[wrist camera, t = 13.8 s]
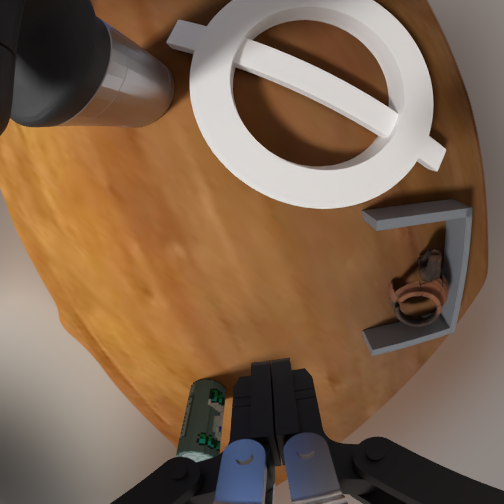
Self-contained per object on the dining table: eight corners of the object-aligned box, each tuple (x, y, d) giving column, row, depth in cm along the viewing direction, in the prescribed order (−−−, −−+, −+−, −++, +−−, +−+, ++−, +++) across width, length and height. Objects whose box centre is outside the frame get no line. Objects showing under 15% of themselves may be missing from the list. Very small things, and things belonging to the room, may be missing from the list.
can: (225, 402, 49) (218, 470, 35) (192, 399, 49) (179, 465, 35) (225, 381, 47) (218, 454, 33) (190, 377, 47) (174, 448, 33)
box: (362, 336, 43) (372, 355, 39) (362, 210, 36) (376, 220, 31) (440, 315, 42) (454, 331, 38) (452, 199, 35) (472, 207, 30)
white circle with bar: (166, 37, 28) (155, 24, 24) (365, -16, 24) (376, -31, 20) (249, 231, 38) (248, 244, 33) (436, 164, 34) (456, 169, 29)
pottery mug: (439, 294, 41) (440, 334, 36) (388, 288, 45) (382, 326, 40) (455, 235, 34) (463, 274, 29) (396, 228, 38) (393, 265, 33)
